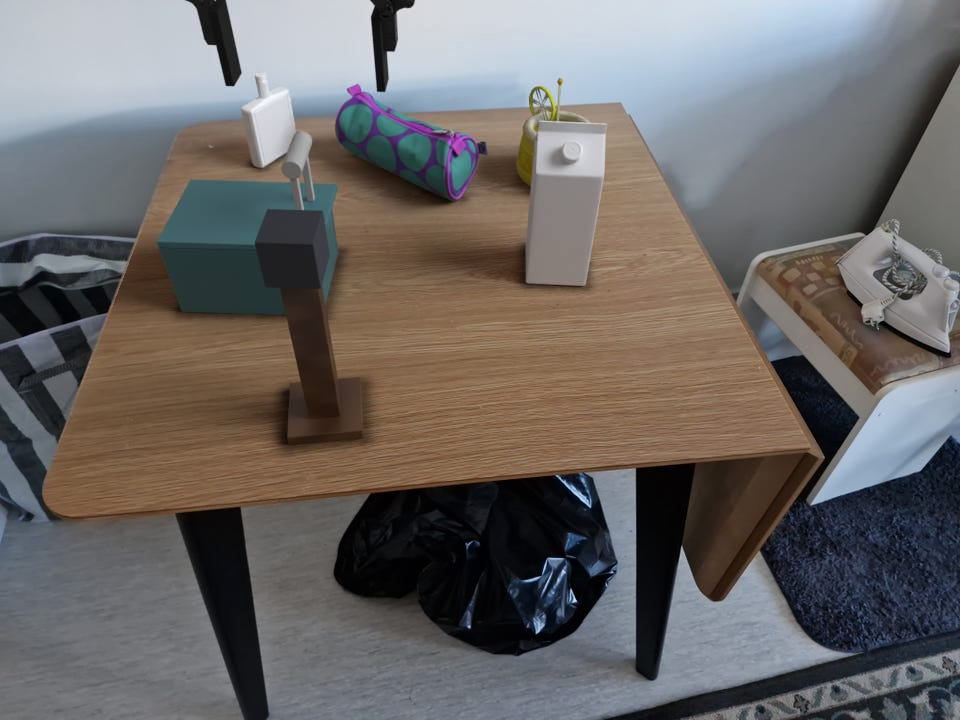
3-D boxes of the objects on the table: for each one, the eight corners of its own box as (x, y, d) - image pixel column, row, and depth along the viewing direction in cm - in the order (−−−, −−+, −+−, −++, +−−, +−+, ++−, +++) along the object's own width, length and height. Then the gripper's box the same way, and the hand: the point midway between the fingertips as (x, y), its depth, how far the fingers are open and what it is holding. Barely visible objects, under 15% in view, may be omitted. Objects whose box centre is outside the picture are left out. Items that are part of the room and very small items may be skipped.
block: (321, 289, 57) (313, 244, 54) (265, 287, 57) (254, 242, 54) (330, 254, 60) (323, 210, 57) (277, 253, 60) (267, 208, 57)
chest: (338, 252, 89) (329, 189, 83) (322, 316, 81) (311, 252, 75) (210, 248, 89) (192, 185, 83) (181, 312, 81) (158, 248, 75)
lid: (337, 189, 83) (328, 118, 77) (320, 252, 75) (307, 178, 68) (192, 185, 83) (170, 112, 77) (158, 247, 75) (131, 172, 68)
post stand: (288, 445, 69) (250, 302, 56) (291, 390, 73) (257, 247, 60) (363, 438, 69) (342, 295, 56) (361, 384, 74) (341, 242, 61)
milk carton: (525, 248, 91) (538, 104, 77) (581, 250, 91) (604, 107, 77) (525, 284, 86) (539, 138, 72) (585, 287, 86) (610, 141, 72)
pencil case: (486, 185, 101) (489, 121, 94) (447, 214, 96) (447, 148, 89) (375, 138, 109) (370, 75, 102) (333, 162, 104) (325, 98, 97)
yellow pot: (596, 200, 99) (609, 118, 90) (516, 198, 99) (522, 115, 90) (588, 152, 108) (600, 73, 99) (515, 149, 108) (520, 70, 99)
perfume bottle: (262, 169, 102) (244, 87, 93) (251, 165, 103) (233, 83, 94) (299, 145, 107) (286, 65, 98) (289, 141, 108) (275, 61, 99)
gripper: (445, -215, 53) (447, 69, 68) (106, -227, 53) (184, 59, 68) (438, -196, 48) (442, 107, 63) (62, -210, 48) (157, 96, 63)
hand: (308, 82), depth 66 cm, fingers open, 13 cm apart
